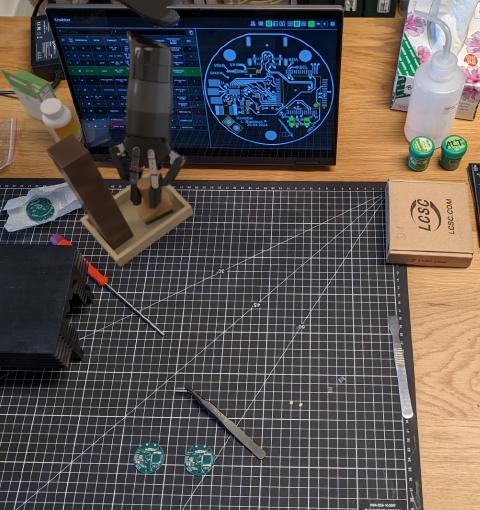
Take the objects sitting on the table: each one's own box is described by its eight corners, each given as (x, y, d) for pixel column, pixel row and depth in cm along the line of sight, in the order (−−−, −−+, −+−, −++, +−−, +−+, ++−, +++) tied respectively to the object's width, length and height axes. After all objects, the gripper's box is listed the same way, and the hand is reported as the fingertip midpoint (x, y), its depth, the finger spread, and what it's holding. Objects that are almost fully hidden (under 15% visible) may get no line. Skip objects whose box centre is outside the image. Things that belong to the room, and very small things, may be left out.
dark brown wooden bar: (113, 250, 113) (62, 168, 90) (99, 234, 115) (45, 149, 91) (134, 236, 115) (88, 151, 92) (120, 220, 116) (71, 133, 93)
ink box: (67, 114, 128) (42, 67, 116) (54, 128, 127) (27, 81, 115) (40, 101, 130) (12, 54, 118) (27, 115, 128) (-2, 68, 116)
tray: (121, 269, 113) (116, 260, 110) (85, 228, 116) (79, 219, 113) (194, 216, 118) (191, 206, 115) (158, 178, 122) (154, 168, 119)
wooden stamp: (146, 227, 116) (132, 199, 106) (137, 210, 117) (122, 182, 107) (175, 212, 117) (164, 184, 108) (166, 196, 118) (154, 167, 109)
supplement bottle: (87, 130, 127) (70, 98, 118) (74, 151, 124) (57, 119, 116) (63, 124, 127) (45, 91, 119) (50, 144, 125) (30, 112, 116)
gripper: (99, 103, 102) (98, 204, 107) (182, 115, 101) (176, 217, 106) (119, 100, 109) (116, 195, 114) (196, 111, 108) (190, 207, 113)
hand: (145, 205), depth 110 cm, fingers closed on wooden stamp, 2 cm apart
